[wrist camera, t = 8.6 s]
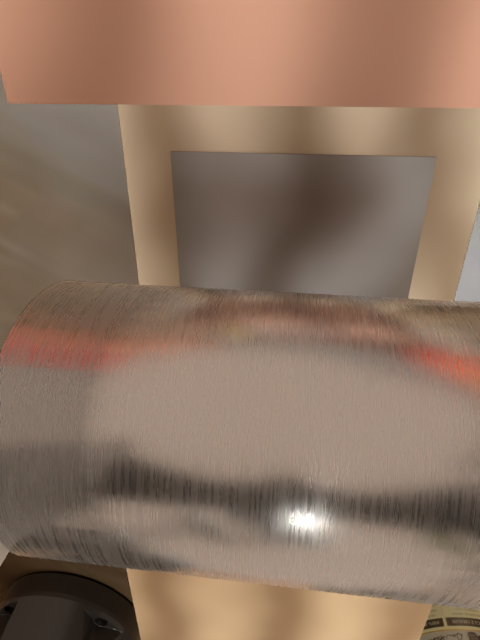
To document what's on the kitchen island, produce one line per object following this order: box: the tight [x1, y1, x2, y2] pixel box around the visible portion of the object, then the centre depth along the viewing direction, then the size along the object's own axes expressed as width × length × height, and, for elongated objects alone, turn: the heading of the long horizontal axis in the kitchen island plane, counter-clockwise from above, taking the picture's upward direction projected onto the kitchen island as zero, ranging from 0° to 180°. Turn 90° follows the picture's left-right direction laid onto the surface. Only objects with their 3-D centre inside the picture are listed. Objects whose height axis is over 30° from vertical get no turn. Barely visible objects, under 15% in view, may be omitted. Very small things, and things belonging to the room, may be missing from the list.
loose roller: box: [0, 281, 480, 610], centre depth 12 cm, size 12×7×7 cm, turn 90°
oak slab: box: [126, 568, 433, 640], centre depth 25 cm, size 16×20×2 cm
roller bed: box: [0, 0, 480, 301], centre depth 24 cm, size 18×38×12 cm, turn 0°
